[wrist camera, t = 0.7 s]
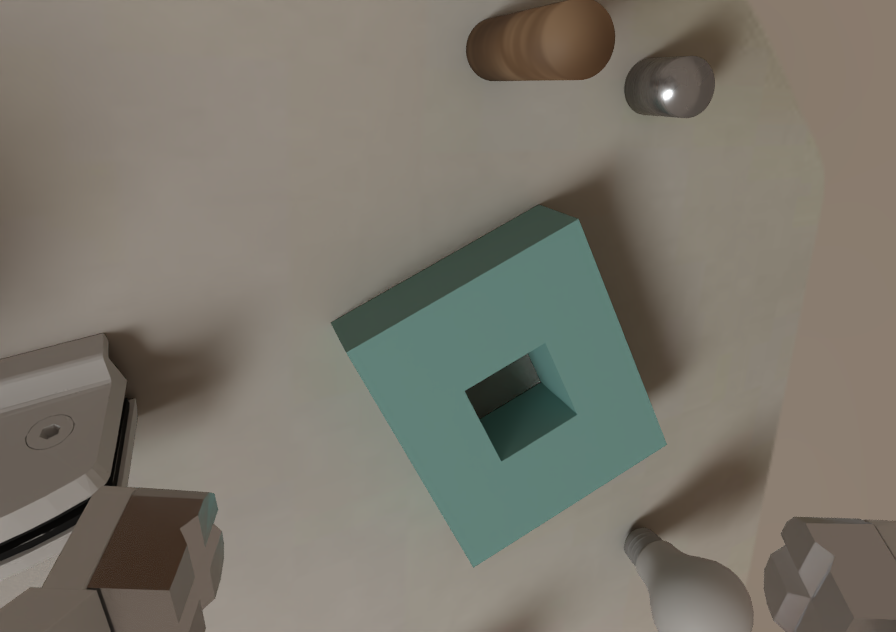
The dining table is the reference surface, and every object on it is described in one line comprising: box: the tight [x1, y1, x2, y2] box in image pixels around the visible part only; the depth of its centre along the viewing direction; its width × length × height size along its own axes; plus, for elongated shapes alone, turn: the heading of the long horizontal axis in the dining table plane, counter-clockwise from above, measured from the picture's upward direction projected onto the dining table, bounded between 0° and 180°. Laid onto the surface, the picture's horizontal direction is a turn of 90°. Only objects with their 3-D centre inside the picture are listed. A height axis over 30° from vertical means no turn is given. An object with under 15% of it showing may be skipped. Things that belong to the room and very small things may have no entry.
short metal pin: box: [624, 56, 715, 118], centre depth 41 cm, size 3×3×4 cm
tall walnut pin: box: [466, 0, 615, 81], centre depth 35 cm, size 3×3×10 cm
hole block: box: [331, 205, 667, 568], centre depth 43 cm, size 16×14×5 cm
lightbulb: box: [624, 528, 753, 632], centre depth 48 cm, size 6×6×11 cm
